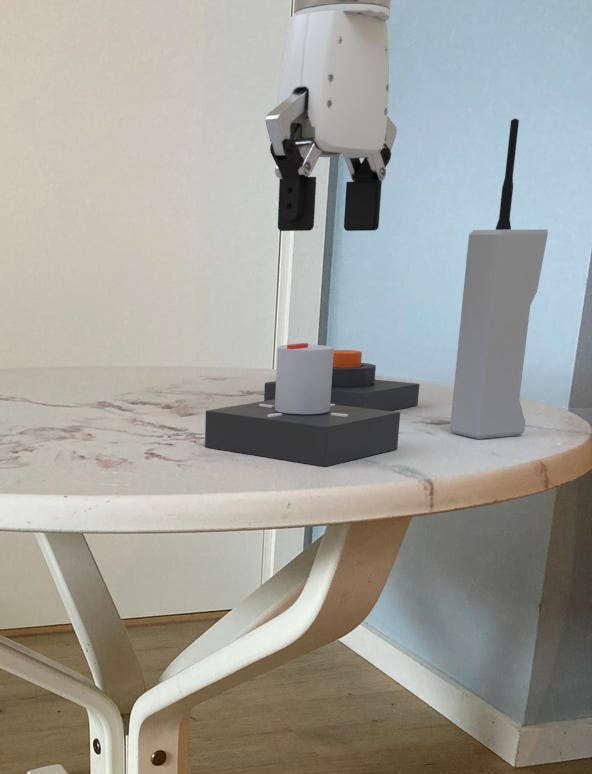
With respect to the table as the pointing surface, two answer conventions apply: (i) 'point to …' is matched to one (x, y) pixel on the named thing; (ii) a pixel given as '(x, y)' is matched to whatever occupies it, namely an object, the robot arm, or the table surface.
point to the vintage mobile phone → (496, 321)
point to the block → (364, 390)
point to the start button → (347, 358)
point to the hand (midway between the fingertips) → (329, 230)
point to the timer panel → (302, 432)
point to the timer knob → (303, 379)
